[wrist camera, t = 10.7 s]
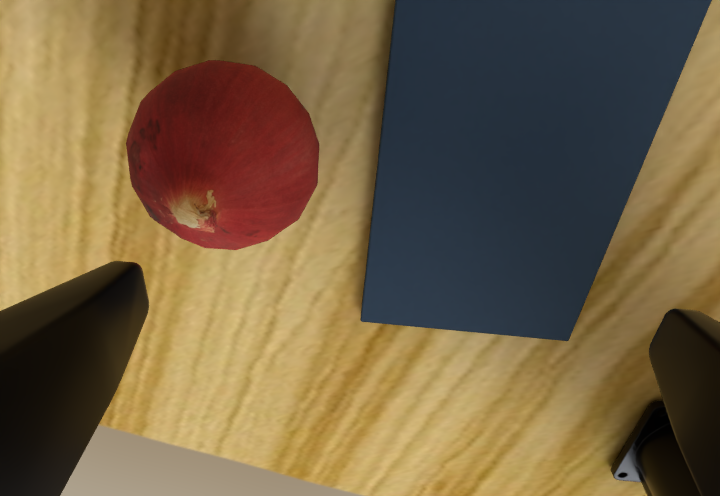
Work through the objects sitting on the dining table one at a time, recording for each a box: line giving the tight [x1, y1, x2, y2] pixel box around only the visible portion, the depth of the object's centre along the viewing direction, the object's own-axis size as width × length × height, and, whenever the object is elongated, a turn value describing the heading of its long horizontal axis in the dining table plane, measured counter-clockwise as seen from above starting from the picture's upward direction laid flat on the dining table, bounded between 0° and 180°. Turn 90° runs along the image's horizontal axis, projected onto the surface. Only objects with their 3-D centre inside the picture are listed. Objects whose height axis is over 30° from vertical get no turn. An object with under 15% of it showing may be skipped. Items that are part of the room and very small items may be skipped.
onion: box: [126, 60, 319, 250], centre depth 15 cm, size 6×6×8 cm
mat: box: [361, 0, 712, 341], centre depth 19 cm, size 18×10×1 cm, turn 175°
